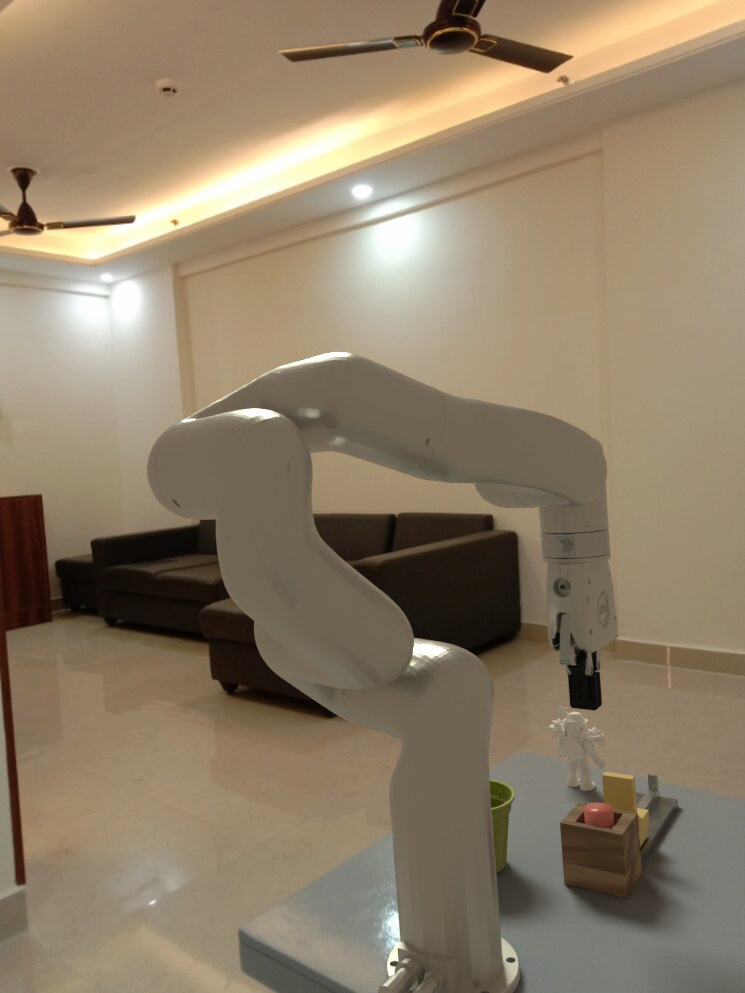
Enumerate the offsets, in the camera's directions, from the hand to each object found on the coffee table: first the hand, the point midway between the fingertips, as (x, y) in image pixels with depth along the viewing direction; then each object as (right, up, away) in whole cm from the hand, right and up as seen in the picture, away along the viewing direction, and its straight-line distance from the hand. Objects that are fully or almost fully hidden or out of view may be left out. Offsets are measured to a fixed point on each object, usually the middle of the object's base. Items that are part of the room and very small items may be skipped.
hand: (586, 706), depth 90 cm
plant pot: (-11, -21, +5) cm, 24 cm away
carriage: (+6, -18, +6) cm, 20 cm away
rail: (+9, -19, +11) cm, 23 cm away
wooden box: (+2, -20, 0) cm, 20 cm away
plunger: (+2, -16, 0) cm, 17 cm away
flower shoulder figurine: (+6, -19, +26) cm, 33 cm away
